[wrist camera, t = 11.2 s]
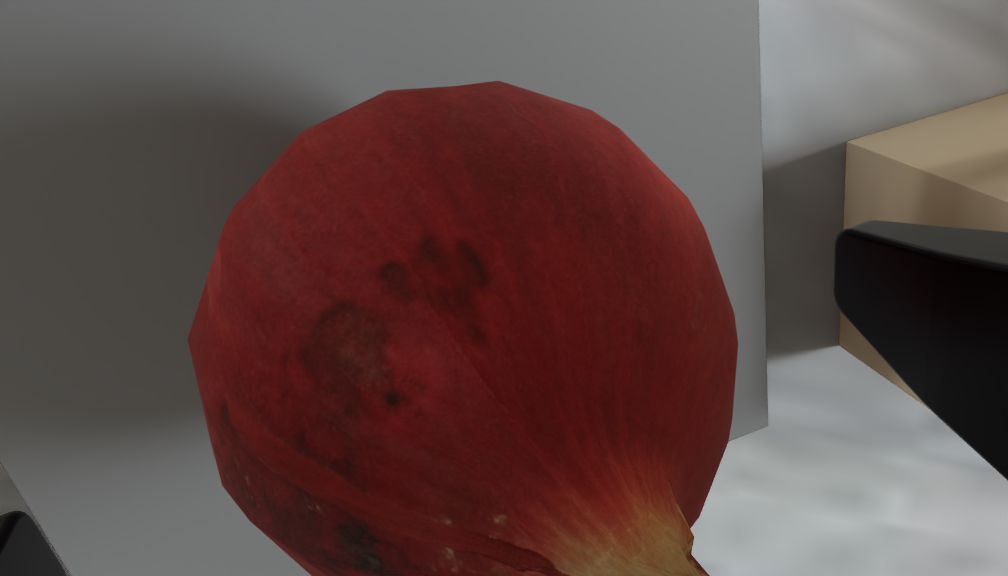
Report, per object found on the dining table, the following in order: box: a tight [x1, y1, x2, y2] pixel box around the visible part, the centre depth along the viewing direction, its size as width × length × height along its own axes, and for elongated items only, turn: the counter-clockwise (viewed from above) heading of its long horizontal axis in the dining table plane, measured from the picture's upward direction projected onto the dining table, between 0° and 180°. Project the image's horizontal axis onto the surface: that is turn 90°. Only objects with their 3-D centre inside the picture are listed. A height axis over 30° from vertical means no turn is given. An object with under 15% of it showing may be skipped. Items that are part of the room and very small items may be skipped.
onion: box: [187, 81, 738, 576], centre depth 9 cm, size 6×6×8 cm
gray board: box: [0, 0, 768, 576], centre depth 13 cm, size 13×13×2 cm
